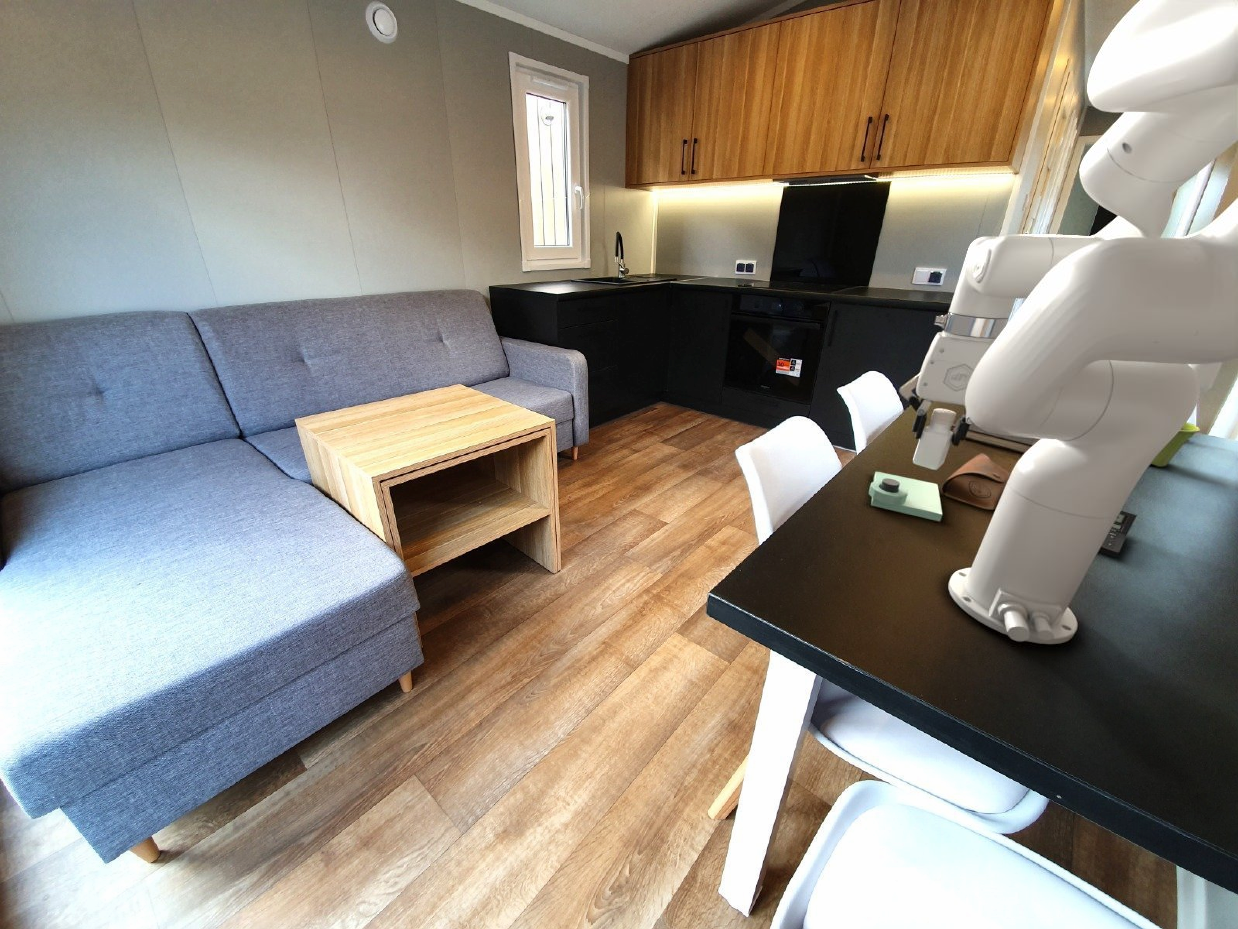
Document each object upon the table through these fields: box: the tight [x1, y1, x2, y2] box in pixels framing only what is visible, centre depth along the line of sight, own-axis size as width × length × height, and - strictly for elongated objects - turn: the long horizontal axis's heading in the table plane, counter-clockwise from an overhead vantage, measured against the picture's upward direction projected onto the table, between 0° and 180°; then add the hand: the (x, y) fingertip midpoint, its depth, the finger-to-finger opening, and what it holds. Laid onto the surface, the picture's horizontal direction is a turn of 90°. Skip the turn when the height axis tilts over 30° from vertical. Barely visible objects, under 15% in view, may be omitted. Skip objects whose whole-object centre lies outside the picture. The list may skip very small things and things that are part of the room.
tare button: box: [880, 478, 900, 493], centre depth 81 cm, size 3×3×2 cm
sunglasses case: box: [941, 452, 1011, 511], centre depth 89 cm, size 18×7×7 cm, turn 132°
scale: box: [868, 470, 943, 522], centre depth 84 cm, size 13×11×3 cm
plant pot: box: [1150, 421, 1201, 467], centre depth 101 cm, size 9×9×9 cm
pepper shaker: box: [912, 408, 957, 471], centre depth 81 cm, size 4×4×10 cm
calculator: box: [1098, 510, 1137, 558], centre depth 76 cm, size 9×12×3 cm
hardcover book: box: [951, 421, 1040, 455], centre depth 115 cm, size 16×23×2 cm
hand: (935, 438), depth 81 cm, fingers closed on pepper shaker, 4 cm apart
